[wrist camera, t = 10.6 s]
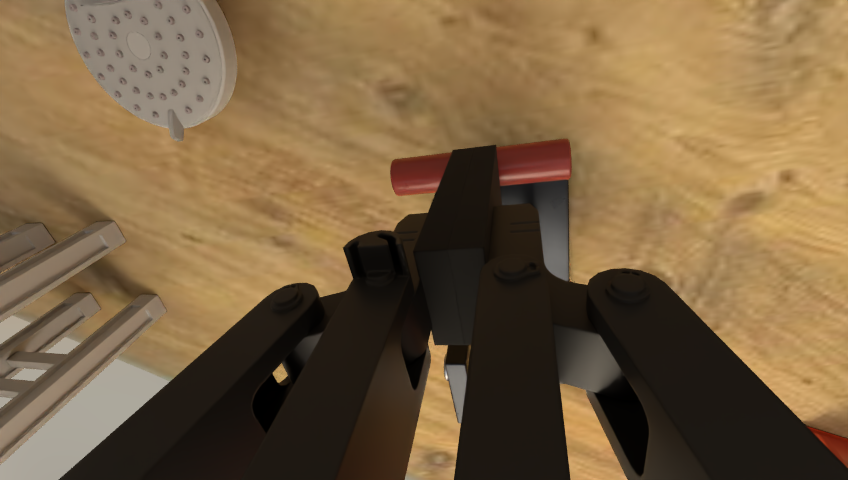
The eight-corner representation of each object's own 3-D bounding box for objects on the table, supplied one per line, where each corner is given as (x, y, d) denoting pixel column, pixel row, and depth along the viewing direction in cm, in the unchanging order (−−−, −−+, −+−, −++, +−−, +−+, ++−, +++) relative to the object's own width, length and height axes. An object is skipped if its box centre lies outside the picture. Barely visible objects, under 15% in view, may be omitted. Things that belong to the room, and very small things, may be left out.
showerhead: (114, 150, 25) (7, -42, 20) (191, 119, 31) (124, -34, 26) (243, 135, 23) (159, -84, 18) (299, 105, 29) (249, -65, 24)
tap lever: (399, 149, 16) (383, 173, 14) (565, 128, 15) (573, 151, 13) (448, 366, 23) (443, 402, 21) (567, 368, 21) (573, 408, 19)
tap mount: (438, 173, 30) (384, 301, 17) (565, 159, 27) (610, 296, 15) (460, 299, 35) (432, 463, 23) (567, 296, 33) (600, 476, 21)
